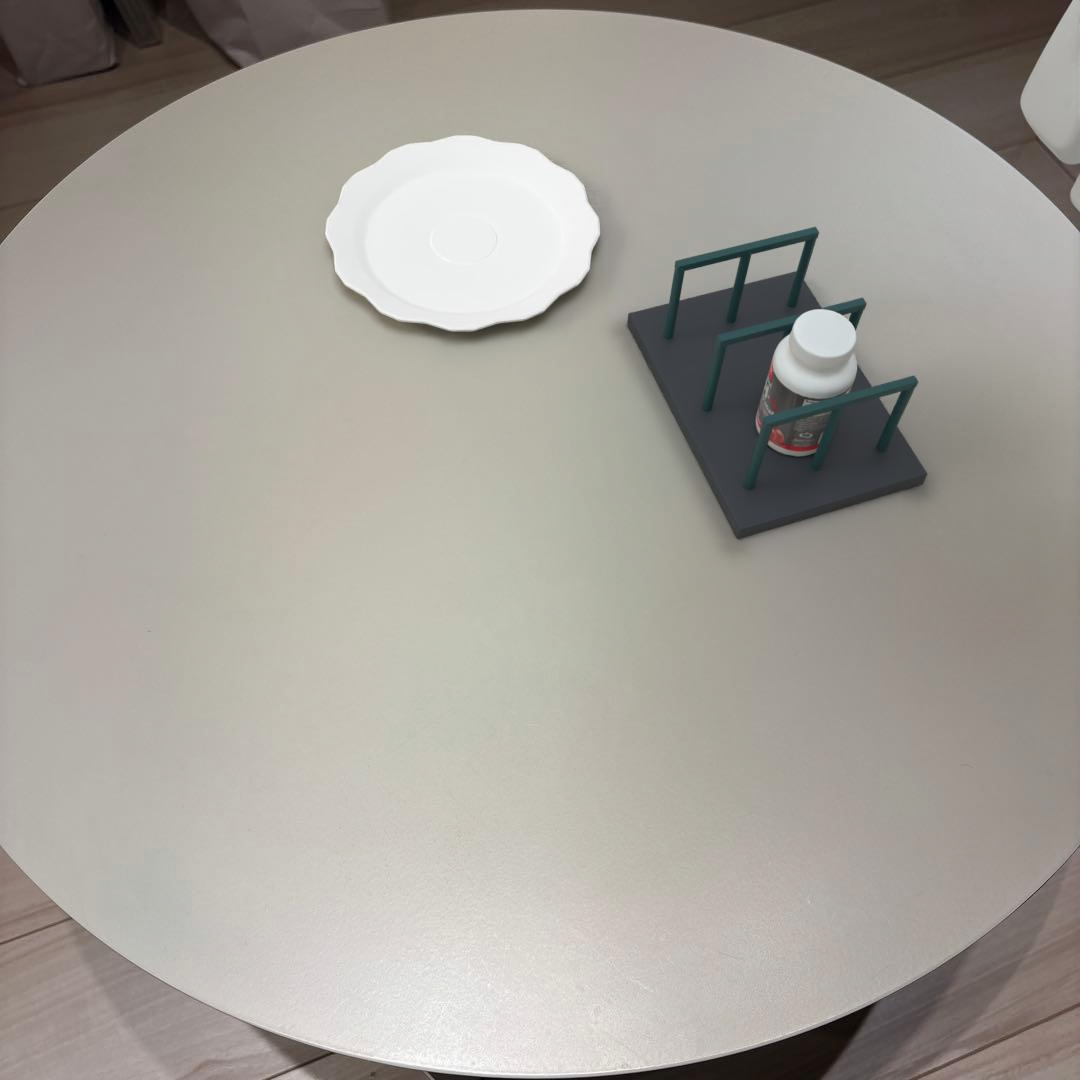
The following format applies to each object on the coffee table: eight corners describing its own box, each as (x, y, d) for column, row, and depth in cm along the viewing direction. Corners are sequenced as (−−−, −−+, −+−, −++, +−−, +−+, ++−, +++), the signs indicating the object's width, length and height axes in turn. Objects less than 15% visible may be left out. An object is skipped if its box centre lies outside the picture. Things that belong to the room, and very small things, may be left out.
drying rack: (923, 484, 78) (964, 406, 71) (737, 539, 76) (760, 465, 68) (795, 281, 88) (820, 195, 81) (626, 324, 85) (636, 239, 78)
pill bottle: (742, 406, 80) (768, 309, 72) (812, 390, 81) (846, 292, 73) (772, 466, 77) (803, 373, 69) (844, 449, 78) (883, 354, 70)
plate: (651, 240, 90) (653, 224, 89) (462, 388, 82) (461, 373, 81) (465, 118, 97) (464, 101, 96) (275, 242, 89) (271, 226, 88)
